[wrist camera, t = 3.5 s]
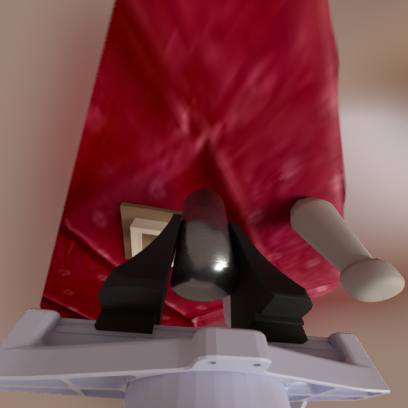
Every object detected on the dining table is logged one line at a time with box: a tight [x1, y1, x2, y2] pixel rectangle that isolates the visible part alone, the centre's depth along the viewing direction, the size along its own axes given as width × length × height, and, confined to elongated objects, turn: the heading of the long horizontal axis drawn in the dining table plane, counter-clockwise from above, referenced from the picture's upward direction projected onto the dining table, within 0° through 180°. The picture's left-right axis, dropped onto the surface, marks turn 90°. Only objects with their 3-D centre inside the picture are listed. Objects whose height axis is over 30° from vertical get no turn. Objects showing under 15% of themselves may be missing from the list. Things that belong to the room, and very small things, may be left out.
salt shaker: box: [290, 197, 405, 302], centre depth 19 cm, size 6×6×13 cm
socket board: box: [120, 202, 183, 267], centre depth 27 cm, size 12×12×3 cm
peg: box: [171, 189, 239, 301], centre depth 13 cm, size 4×4×8 cm
